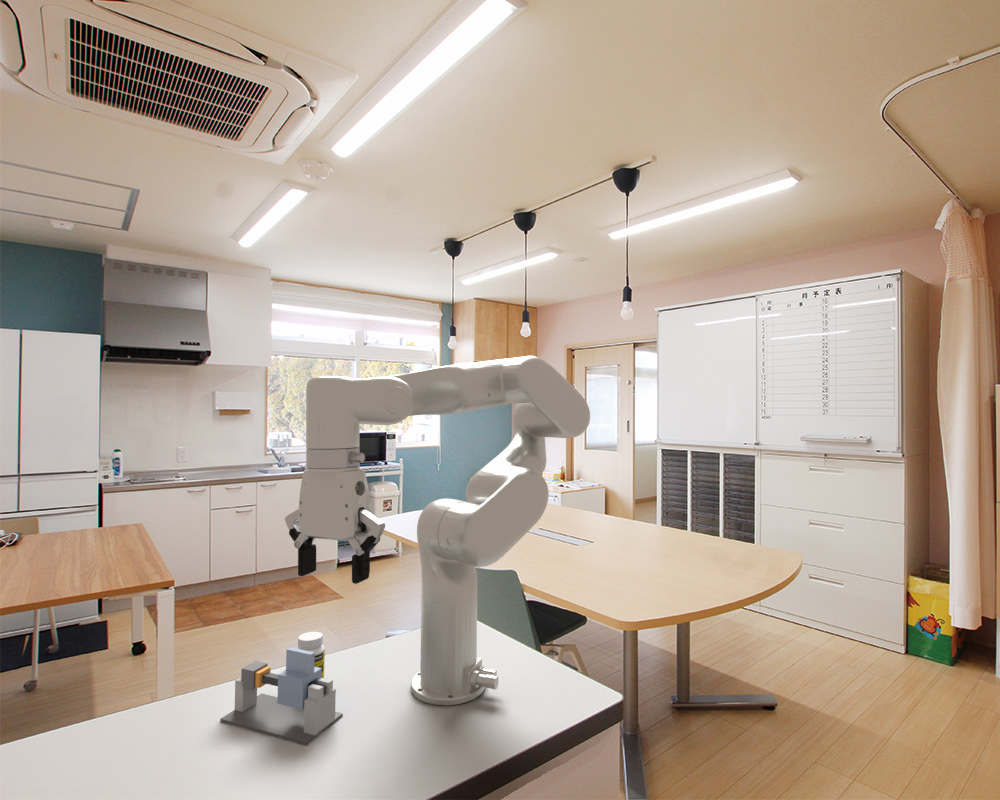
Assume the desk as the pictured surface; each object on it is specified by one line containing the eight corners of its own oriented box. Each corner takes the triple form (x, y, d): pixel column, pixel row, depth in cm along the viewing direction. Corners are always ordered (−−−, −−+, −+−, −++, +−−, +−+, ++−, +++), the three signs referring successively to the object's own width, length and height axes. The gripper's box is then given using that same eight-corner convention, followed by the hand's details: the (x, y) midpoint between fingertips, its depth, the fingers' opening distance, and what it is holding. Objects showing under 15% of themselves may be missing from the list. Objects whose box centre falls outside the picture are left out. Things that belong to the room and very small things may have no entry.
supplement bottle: (314, 694, 88) (315, 642, 89) (288, 691, 89) (289, 640, 90) (329, 680, 93) (330, 631, 93) (304, 678, 94) (305, 629, 94)
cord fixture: (342, 716, 82) (343, 670, 82) (306, 745, 75) (307, 694, 75) (261, 695, 88) (262, 652, 88) (220, 721, 80) (221, 674, 81)
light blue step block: (320, 696, 81) (321, 648, 82) (302, 709, 78) (303, 659, 78) (296, 690, 83) (297, 643, 83) (277, 703, 79) (278, 653, 79)
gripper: (397, 459, 79) (397, 576, 79) (305, 456, 86) (305, 564, 86) (366, 464, 72) (366, 592, 72) (268, 460, 79) (268, 578, 79)
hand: (333, 577), depth 79 cm, fingers open, 9 cm apart
